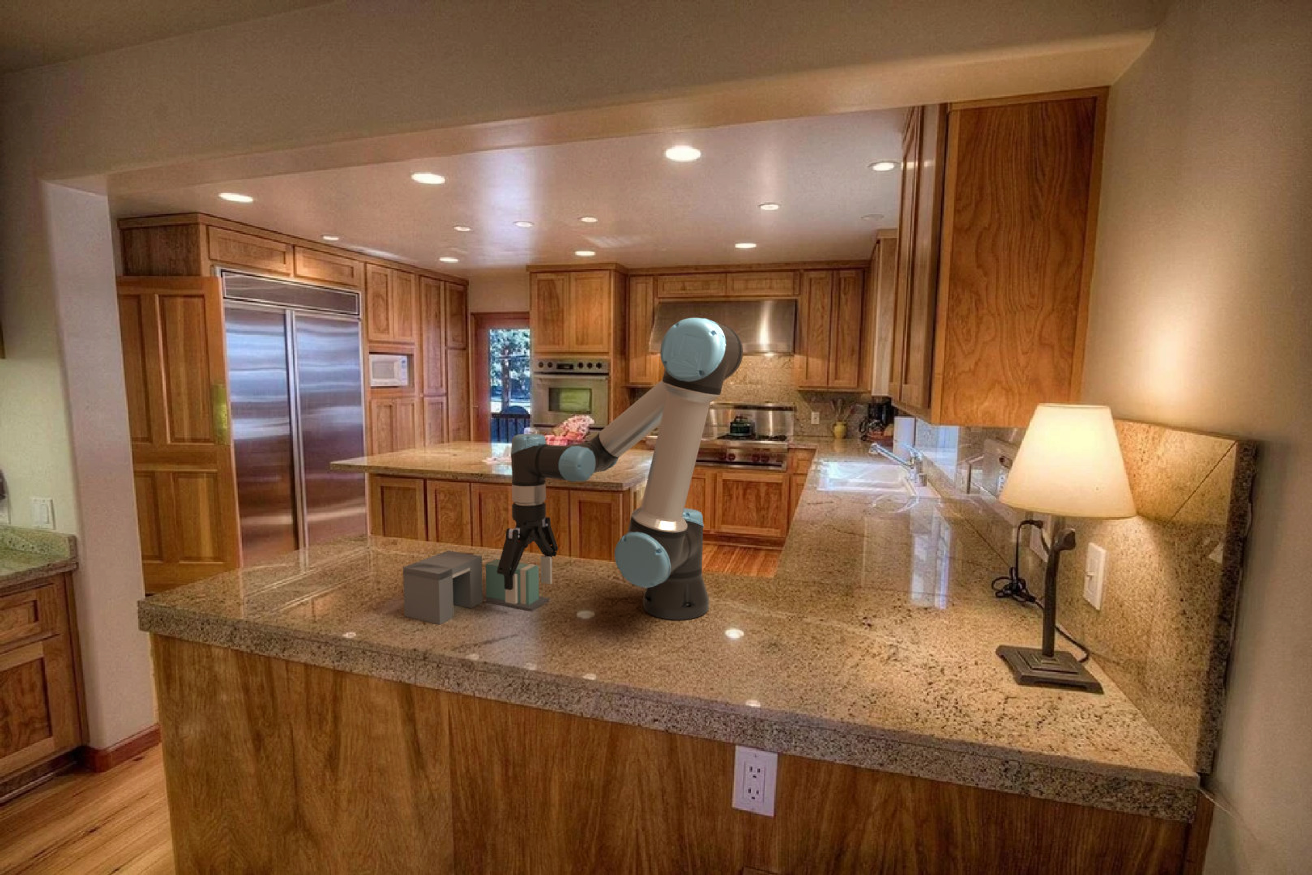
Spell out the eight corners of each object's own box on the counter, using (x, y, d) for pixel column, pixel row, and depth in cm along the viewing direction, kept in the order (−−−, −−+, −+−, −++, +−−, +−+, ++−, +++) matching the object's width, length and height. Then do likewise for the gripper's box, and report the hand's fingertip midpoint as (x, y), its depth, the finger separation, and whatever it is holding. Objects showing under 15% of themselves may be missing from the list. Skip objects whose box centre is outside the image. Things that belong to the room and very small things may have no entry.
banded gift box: (538, 598, 134) (538, 565, 133) (528, 605, 130) (528, 570, 129) (497, 591, 138) (496, 558, 137) (485, 596, 134) (485, 563, 134)
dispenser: (482, 601, 133) (481, 555, 132) (440, 624, 121) (438, 573, 119) (449, 595, 137) (448, 550, 136) (404, 616, 124) (403, 567, 123)
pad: (549, 600, 134) (549, 598, 134) (531, 611, 128) (531, 608, 128) (504, 591, 139) (504, 589, 139) (485, 601, 133) (485, 599, 133)
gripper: (546, 491, 143) (546, 573, 145) (478, 511, 120) (480, 608, 122) (571, 493, 140) (572, 577, 142) (508, 515, 117) (509, 614, 119)
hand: (529, 592), depth 132 cm, fingers open, 13 cm apart
